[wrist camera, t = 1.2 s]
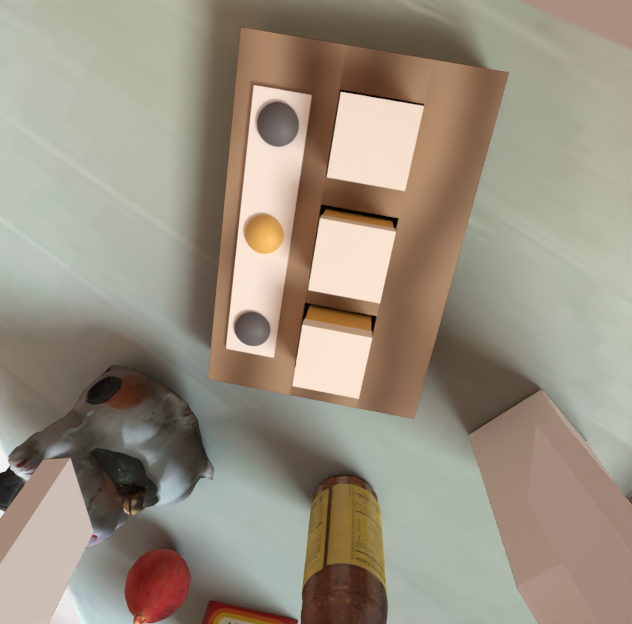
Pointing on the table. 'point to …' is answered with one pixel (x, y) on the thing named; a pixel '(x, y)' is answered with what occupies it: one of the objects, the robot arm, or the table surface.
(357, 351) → the far button
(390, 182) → the yellow white square block
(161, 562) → the onion
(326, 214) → the middle button
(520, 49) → the table surface
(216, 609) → the baking soda box
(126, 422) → the lucky cat figurine
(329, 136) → the button board
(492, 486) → the milk carton
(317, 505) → the sauce bottle
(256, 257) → the push button panel
